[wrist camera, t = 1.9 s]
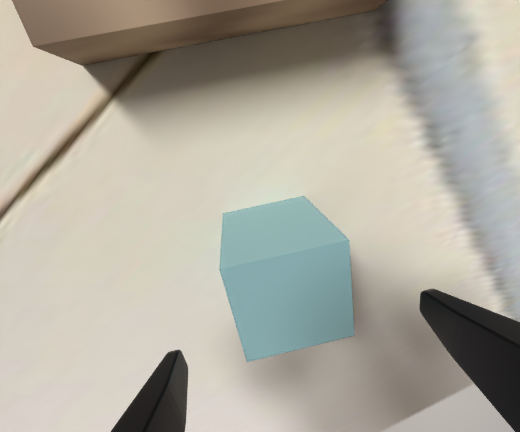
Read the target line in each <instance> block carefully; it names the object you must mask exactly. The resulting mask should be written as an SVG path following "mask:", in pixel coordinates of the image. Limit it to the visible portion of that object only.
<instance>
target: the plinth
mask: <svg viewBox="0 0 520 432" xmlns="http://www.w3.org/2000/svg"><path fill="white" fill-rule="evenodd" d="M12 1H13V4H14V6H15V8H16V10H17V12H18V15H19V17H20V19H21V21H22V23H23V26H24V28H25V30H26V32H27V34H28V37H29V39H30V41H31V43H32V45H33V47H36V48H38V49H41V50H43V51H46V52H49V53H51V54H54V55H56V56H59V57H61V58H64V59H66V60H69V61H72V62H74V63H77V64H79V65H87V64H92V63H98V62H103V61H108V60H114V59H119V58H124V57H130V56H135V55H140V54H146V53H151V52H156V51H162V50H167V49H172V48H177V47H183V46H188V45H193V44H199V43H204V42H209V41H215V40H220V39H225V38H231V37H236V36H241V35H247V34H252V33H257V32H263V31H268V30H273V29H279V28H284V27H289V26H294V25H300V24H305V23H310V22H316V21H321V20H326V19H332V18H337V17H342V16H348V15H353V14H358V13H364V12H369V11H374V10H375V9H377V8H378V7H379V6H380V5H382V4H383V3H384V2H386V1H387V0H12Z"/></svg>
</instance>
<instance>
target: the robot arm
mask: <svg viewBox="0 0 520 432" xmlns="http://www.w3.org/2000/svg"><path fill="white" fill-rule="evenodd" d="M420 312H421V314H422V315H423V317H424V318H425V320H426V321H427V323H428V324H429V325H430V327H431V328H432V330H433V331H434V333H435V334H436V335H437V337H438V338H439V340H440V341H441V342H442V344H443V345H444V347H445V348H446V349H447V351H448V352H449V353H450V355H451V356H452V357H453V358H454V360H455V361H456V362H457V363H458V364H459V366H460V367H461V368H462V369H463V370H464V372H465V373H466V374H467V375H468V376H469V378H470V379H471V380H472V381H473V382H474V383H475V385H476V386H477V387H478V388H479V389H480V391H481V392H482V393H483V394H484V395H485V396H486V398H487V399H488V400H489V401H490V402H491V403H492V405H493V406H494V407H495V408H496V410H497V411H498V412H499V413H500V414H501V415H502V417H503V418H504V419H505V420H506V421H507V423H508V424H509V425H510V426H511V427H512V428H513V430H514V431H515V432H520V322H518V321H515V320H513V319H510V318H507V317H505V316H502V315H500V314H497V313H495V312H492V311H489V310H487V309H484V308H482V307H479V306H477V305H474V304H471V303H469V302H466V301H464V300H461V299H459V298H456V297H453V296H451V295H448V294H446V293H443V292H441V291H438V290H435V289H429V290H424V291H422V292H421V295H420ZM187 387H188V366H187V363H186V361H185V359H184V356H183V354H182V352H181V350H175V351H170V352H168V353H167V354H166V356H165V357H164V358H163V360H162V361H161V363H160V364H159V365H158V367H157V368H156V369H155V371H154V372H153V374H152V375H151V376H150V378H149V379H148V381H147V382H146V383H145V385H144V386H143V388H142V389H141V390H140V392H139V393H138V394H137V396H136V397H135V399H134V400H133V401H132V403H131V404H130V406H129V407H128V408H127V410H126V411H125V412H124V414H123V415H122V417H121V418H120V419H119V421H118V422H117V424H116V425H115V426H114V428H113V429H112V430H111V432H185V424H186V410H187Z"/></svg>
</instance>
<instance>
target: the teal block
mask: <svg viewBox="0 0 520 432" xmlns="http://www.w3.org/2000/svg"><path fill="white" fill-rule="evenodd" d="M220 273H221V276H222V279H223V283H224V286H225V289H226V293H227V296H228V300H229V303H230V306H231V310H232V313H233V316H234V320H235V323H236V327H237V330H238V333H239V337H240V340H241V343H242V347H243V350H244V353H245V357H246V360H247V362H249V361H253V360H257V359H261V358H265V357H269V356H273V355H277V354H282V353H286V352H290V351H294V350H298V349H302V348H306V347H310V346H314V345H318V344H322V343H326V342H330V341H335V340H339V339H343V338H347V337H351V336H354V319H353V301H352V282H351V264H350V246H349V239H348V238H347V237H346V236H345V235H344V234H343V233H342V232H341V231H340V230H339V229H338V228H337V227H336V226H335V225H334V224H333V223H332V222H330V221H329V220H328V219H327V218H326V217H325V216H324V215H323V214H322V213H321V212H320V211H319V210H318V209H317V208H316V207H315V206H314V205H313V204H312V203H311V202H310V201H309V200H308V199H307V198H306V197H305V196H301V197H297V198H292V199H287V200H283V201H278V202H274V203H269V204H265V205H260V206H255V207H251V208H246V209H242V210H237V211H232V212H228V213H223V222H222V238H221V253H220Z"/></svg>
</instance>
